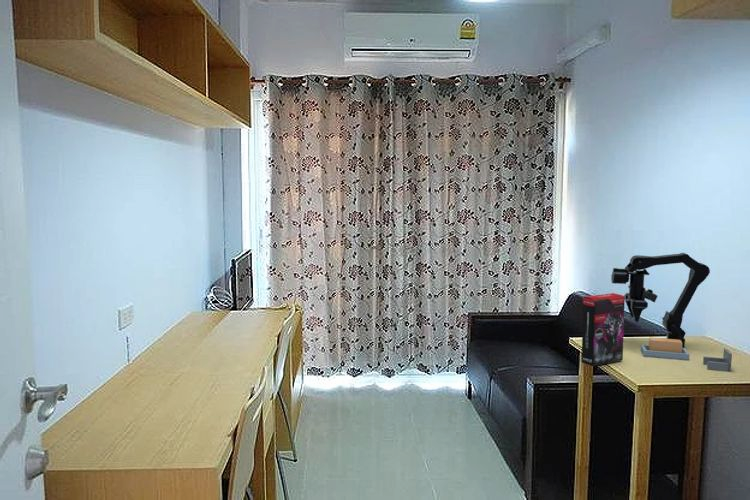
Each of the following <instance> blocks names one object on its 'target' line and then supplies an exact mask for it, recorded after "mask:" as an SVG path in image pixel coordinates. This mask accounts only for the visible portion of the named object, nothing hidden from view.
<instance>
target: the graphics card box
mask: <svg viewBox="0 0 750 500" xmlns="http://www.w3.org/2000/svg"><path fill="white" fill-rule="evenodd" d="M625 304H626V302H625V296H624V295H623V294H618V293H616V292H611V293H605V294H593V295H586V296H583V298H582V331H581V332H582V333H581V334H582V335H581V337H582V338H581V342H582V343H581V363H583V364H585V365H588V366H591V367H597V366H602V365H607V364H611V363H616V362H622V361H623V360H624V357H623V355H624V333H625V332H624V330H625V329H624V327H625Z"/></svg>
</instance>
